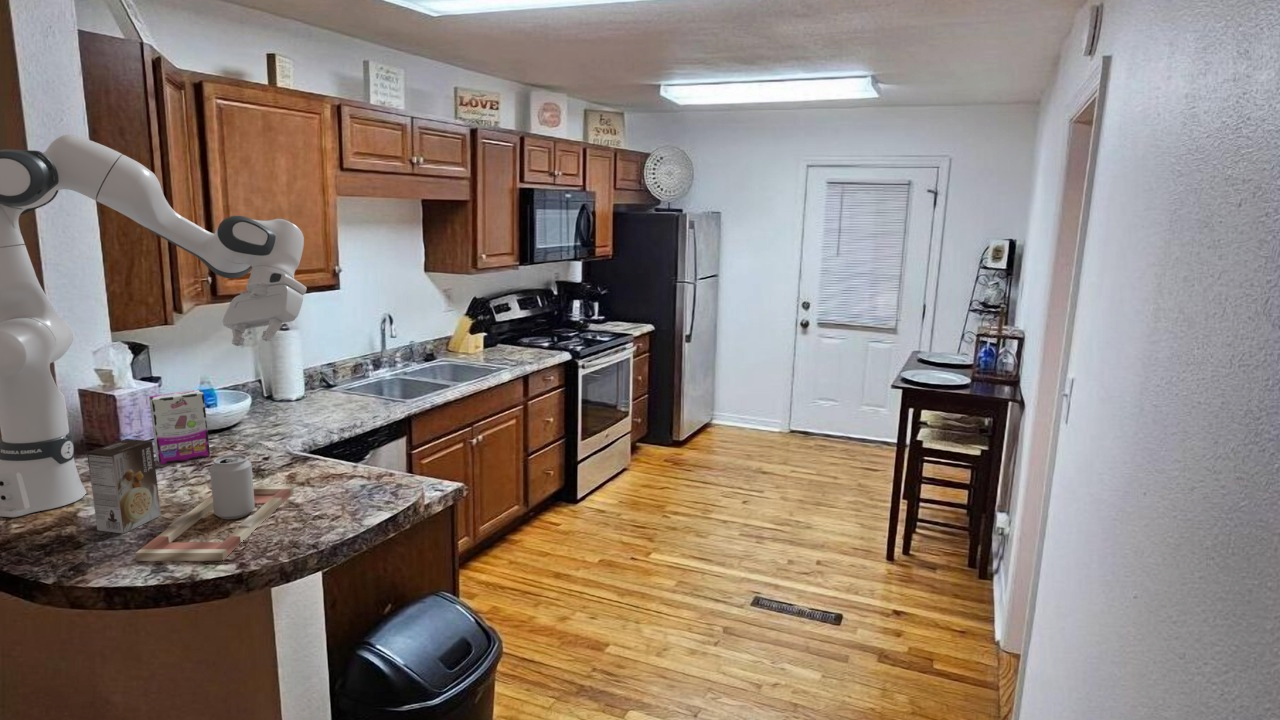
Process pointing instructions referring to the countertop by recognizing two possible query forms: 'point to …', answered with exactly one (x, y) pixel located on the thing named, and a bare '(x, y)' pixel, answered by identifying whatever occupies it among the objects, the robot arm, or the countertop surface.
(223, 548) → the flat rectangular frame
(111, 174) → the robot arm
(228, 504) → the can
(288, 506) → the countertop surface
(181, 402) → the candy bar box
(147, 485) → the coffee box
